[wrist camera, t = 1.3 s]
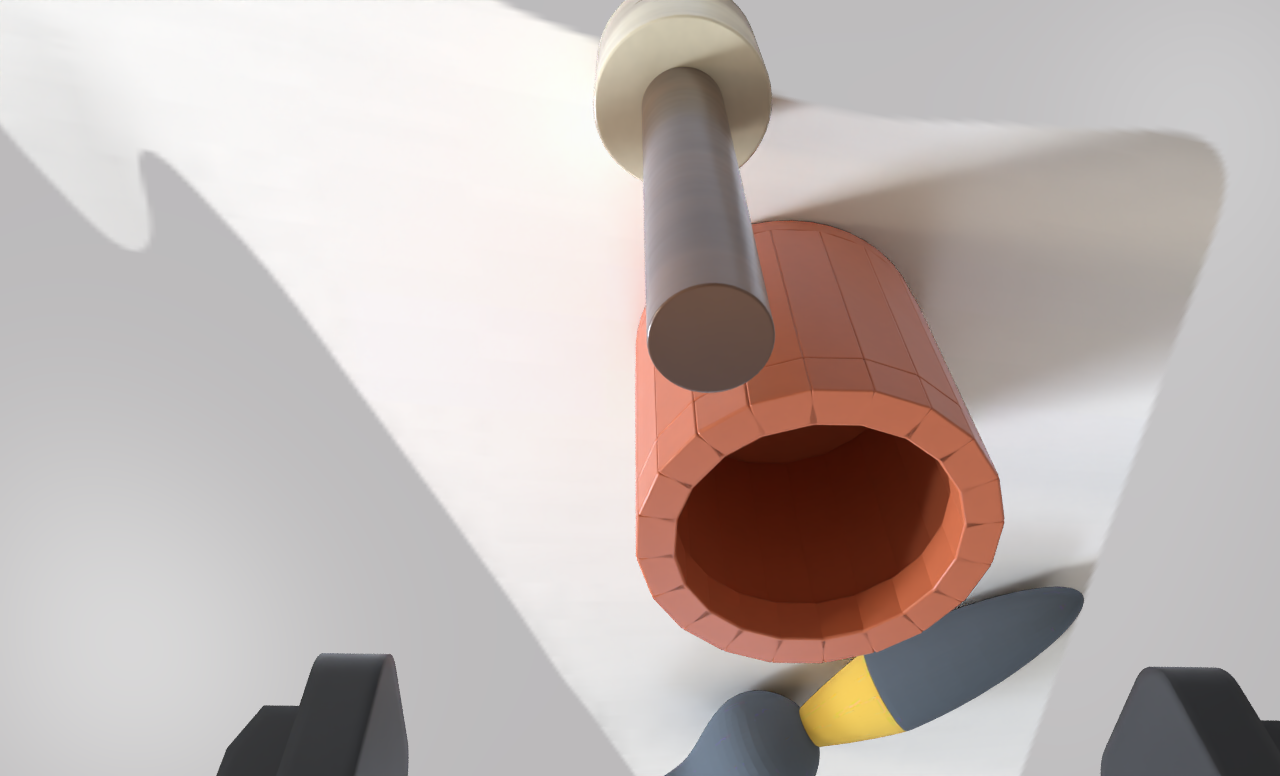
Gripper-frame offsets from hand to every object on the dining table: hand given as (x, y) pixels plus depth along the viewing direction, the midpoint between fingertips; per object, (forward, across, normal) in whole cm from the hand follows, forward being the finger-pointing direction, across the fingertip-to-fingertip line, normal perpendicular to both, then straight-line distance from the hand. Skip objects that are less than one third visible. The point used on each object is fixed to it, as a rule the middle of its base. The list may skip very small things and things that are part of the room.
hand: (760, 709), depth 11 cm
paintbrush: (+24, -9, +26) cm, 36 cm away
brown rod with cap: (+24, 0, 0) cm, 24 cm away
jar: (+24, -4, +10) cm, 26 cm away
